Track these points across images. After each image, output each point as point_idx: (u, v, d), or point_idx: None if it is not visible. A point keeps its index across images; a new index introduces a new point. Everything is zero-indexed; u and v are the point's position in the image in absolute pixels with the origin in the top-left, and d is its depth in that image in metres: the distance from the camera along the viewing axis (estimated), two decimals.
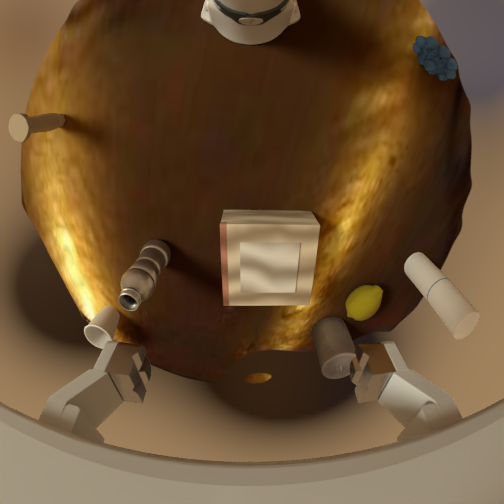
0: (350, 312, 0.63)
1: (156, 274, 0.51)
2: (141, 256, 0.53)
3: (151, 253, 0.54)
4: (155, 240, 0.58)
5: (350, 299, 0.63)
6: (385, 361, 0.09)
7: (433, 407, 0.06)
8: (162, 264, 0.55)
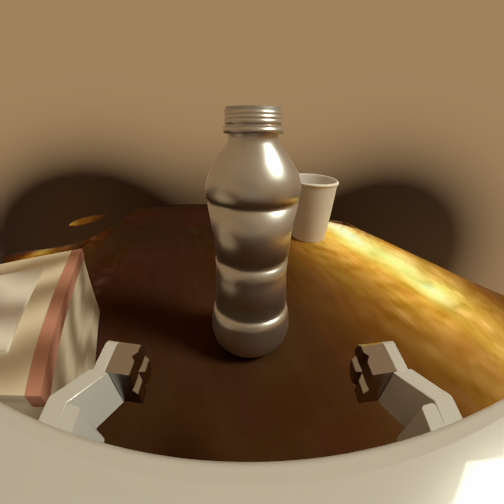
0: None
1: (215, 236, 0.19)
2: (276, 281, 0.20)
3: (253, 302, 0.20)
4: (261, 349, 0.22)
5: None
6: (385, 361, 0.09)
7: (433, 407, 0.06)
8: (217, 286, 0.22)
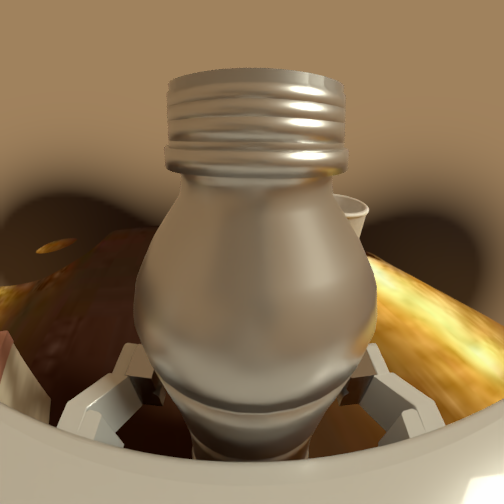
0: None
1: None
2: (297, 453, 0.09)
3: None
4: None
5: None
6: (365, 364, 0.09)
7: (414, 413, 0.06)
8: (192, 443, 0.10)
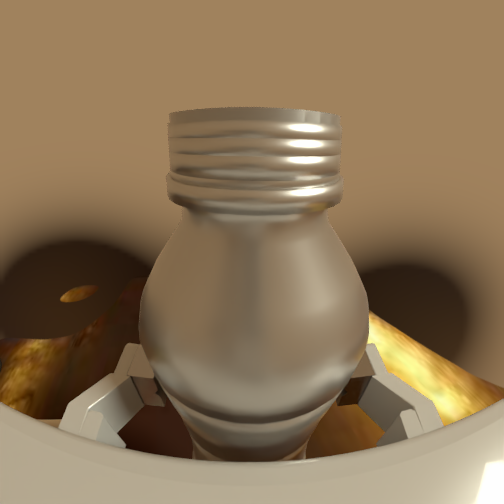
0: None
1: None
2: (294, 458, 0.09)
3: None
4: None
5: None
6: (364, 364, 0.09)
7: (412, 413, 0.06)
8: (193, 447, 0.11)
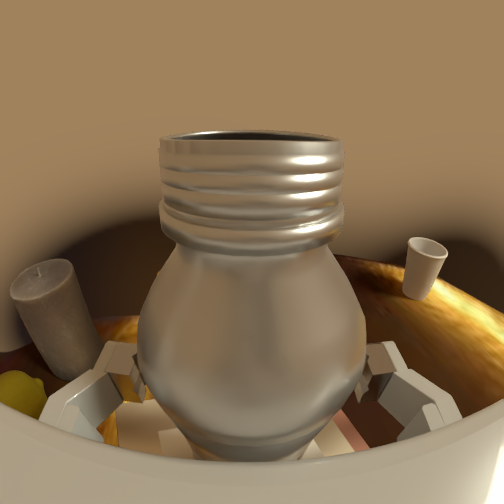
0: (34, 387, 0.21)
1: None
2: None
3: None
4: None
5: (38, 413, 0.19)
6: (385, 361, 0.09)
7: (433, 407, 0.06)
8: (193, 454, 0.11)
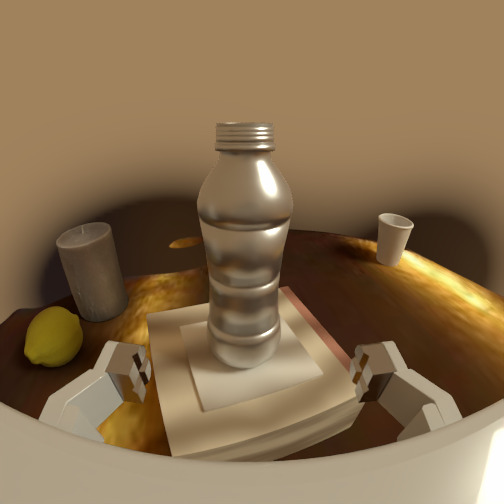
0: (73, 318, 0.32)
1: (207, 252, 0.20)
2: (268, 296, 0.21)
3: (245, 316, 0.21)
4: (253, 361, 0.22)
5: (75, 338, 0.30)
6: (385, 361, 0.09)
7: (433, 407, 0.06)
8: (210, 300, 0.22)
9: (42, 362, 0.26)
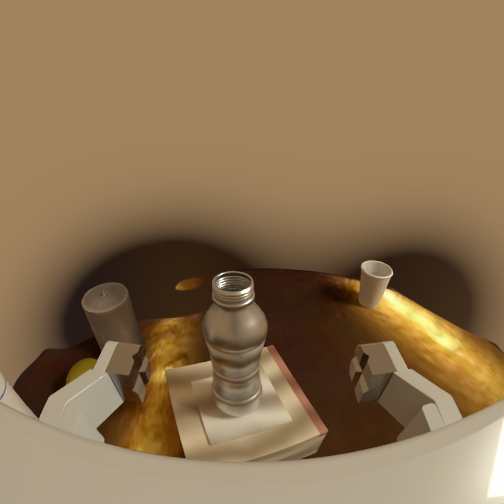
0: None
1: (210, 356, 0.28)
2: (251, 379, 0.29)
3: (236, 391, 0.29)
4: (243, 413, 0.31)
5: None
6: (385, 361, 0.09)
7: (433, 407, 0.06)
8: (213, 377, 0.30)
9: None
